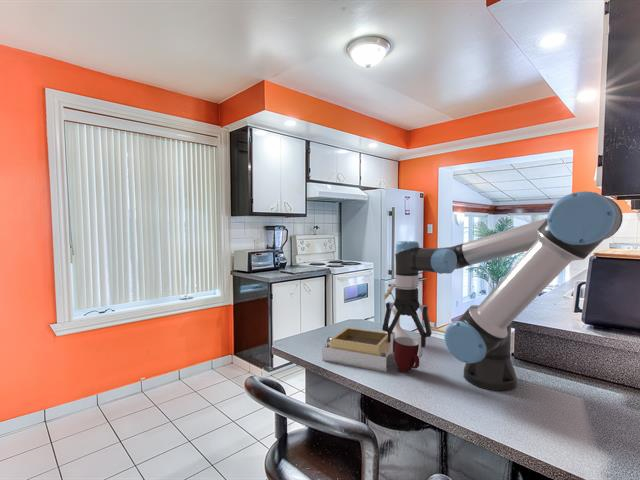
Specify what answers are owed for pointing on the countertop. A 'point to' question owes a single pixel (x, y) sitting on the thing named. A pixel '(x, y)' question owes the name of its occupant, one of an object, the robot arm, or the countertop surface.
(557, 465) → the countertop surface
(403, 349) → the mug
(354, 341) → the gold rimmed tray box
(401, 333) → the flower in vase
